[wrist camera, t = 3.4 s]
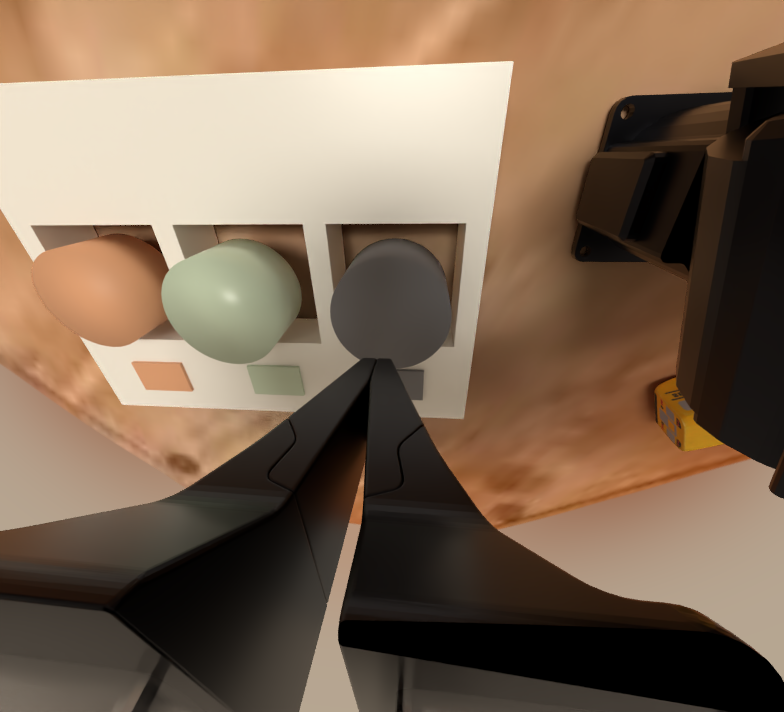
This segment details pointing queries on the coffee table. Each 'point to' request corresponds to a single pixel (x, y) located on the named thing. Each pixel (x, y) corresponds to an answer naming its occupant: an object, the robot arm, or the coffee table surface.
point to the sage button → (232, 300)
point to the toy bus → (679, 419)
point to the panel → (263, 199)
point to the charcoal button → (392, 304)
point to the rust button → (103, 288)
